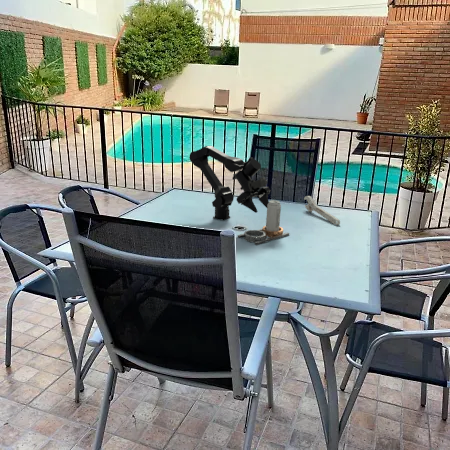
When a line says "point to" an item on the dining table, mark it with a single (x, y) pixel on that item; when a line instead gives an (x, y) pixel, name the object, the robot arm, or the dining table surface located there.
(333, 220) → the wrench
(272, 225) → the energy drink can
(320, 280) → the dining table surface
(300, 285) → the dining table surface
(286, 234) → the socket rail
